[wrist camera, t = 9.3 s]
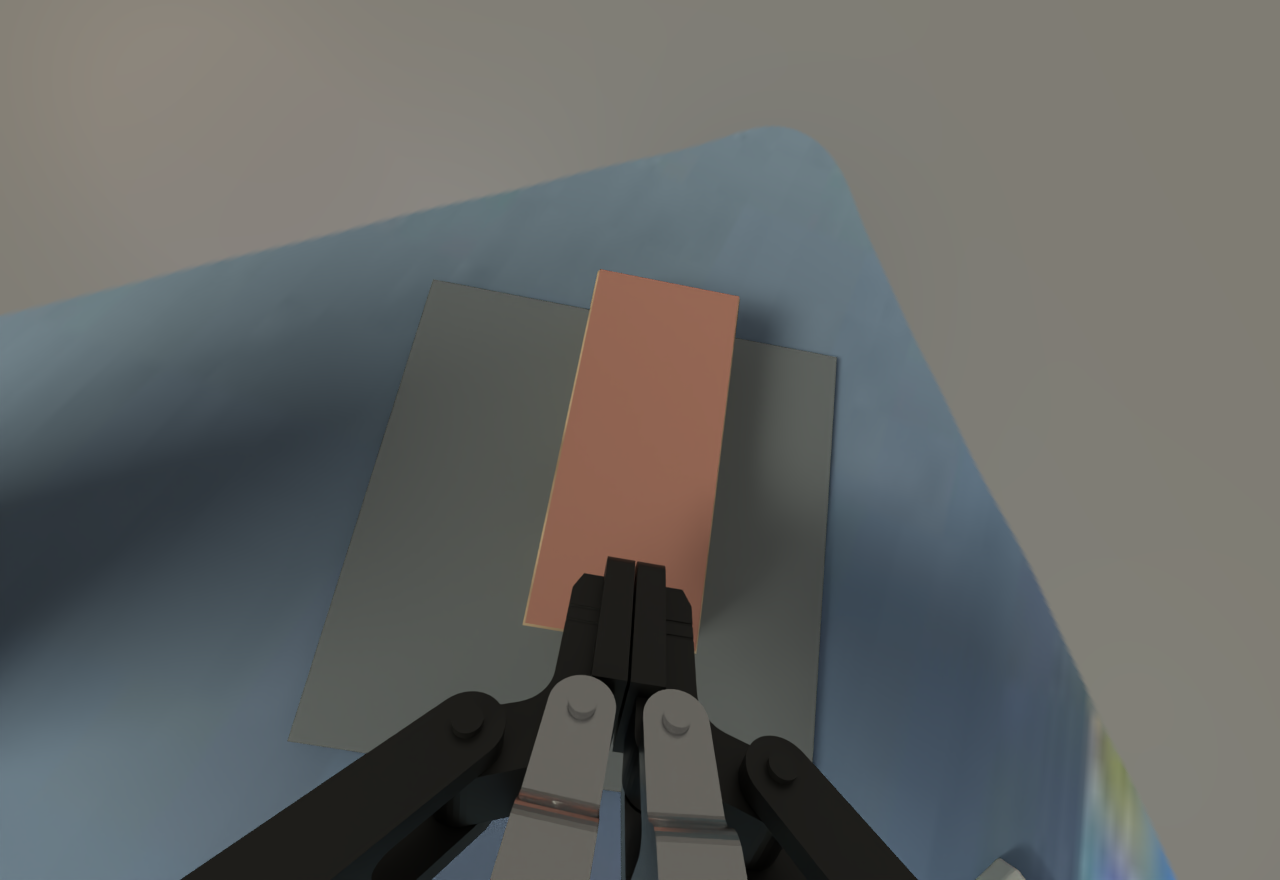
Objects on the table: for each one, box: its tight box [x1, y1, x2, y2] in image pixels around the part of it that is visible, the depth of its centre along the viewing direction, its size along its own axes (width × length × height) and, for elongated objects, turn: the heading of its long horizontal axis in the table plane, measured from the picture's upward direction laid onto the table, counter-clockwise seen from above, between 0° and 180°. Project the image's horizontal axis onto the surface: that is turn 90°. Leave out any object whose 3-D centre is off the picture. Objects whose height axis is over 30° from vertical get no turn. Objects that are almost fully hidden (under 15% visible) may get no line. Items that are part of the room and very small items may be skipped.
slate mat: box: [288, 280, 837, 792], centre depth 24 cm, size 20×20×1 cm
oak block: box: [522, 269, 740, 654], centre depth 22 cm, size 6×4×14 cm
